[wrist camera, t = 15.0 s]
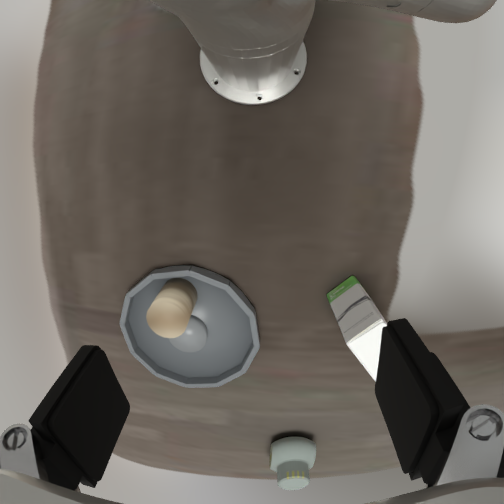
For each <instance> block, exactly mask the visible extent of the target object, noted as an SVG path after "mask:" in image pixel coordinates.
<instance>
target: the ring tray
mask: <svg viewBox="0 0 504 504" xmlns="http://www.w3.org/2000/svg"><path fill="white" fill-rule="evenodd" d="M172 278H183V279H186V280H188V281H189V282H191V283H192V284H193V285H194V287H195V288H196V291H197V301H196V304H195V306H194V309H193V312H192V314H191V317H190V319H189V322H188V325H187V327H186V330H185V331H184V333H183V334H182V335H180V336H179V337H176V338H165V337H162V336H159V335H158V334H156V333H155V332H154V331H153V330H152V329H151V328H150V327H149V325H148V323H147V318H146V315H147V311H148V309H149V308H150V306H151V304H152V303H153V301H154V300H155V298H156V297H157V295H158V293H159V292H160V290H161V289H162V287H163V286H164V284H165V283H166V282H167V281H168V280H170V279H172ZM120 327H121V330H122V332H123V335H124V338H125V340H126V343H127V345H128V348H129V350H130V353H131V354H132V355H133V356H134V357H135V358H136V359H137V360H138V361H139V362H140V363H141V364H143V365H144V366H145V367H146V368H147V369H148V370H149V371H150V372H151V373H152V374H153V375H155V376H157V377H159V378H162V379H164V380H167V381H170V382H172V383H175V384H177V385H180V386H183V387H186V388H197V387H218V386H221V385H223V384H225V383H227V382H229V381H231V380H233V379H235V378H237V377H239V376H241V375H242V374H244V373H245V372H246V371H247V369H248V368H249V366H250V364H251V362H252V360H253V359H254V357H255V355H256V353H257V351H258V350H259V348H260V338H259V331H258V322H257V318H256V311H255V308H254V307H253V306H252V305H251V303H250V302H249V300H248V299H247V297H246V296H245V295H244V293H243V292H242V291H241V290H240V289H239V288H238V287H237V286H236V285H234V284H233V283H232V282H231V281H230V280H228V279H226V278H224V277H223V276H221V275H219V274H217V273H215V272H213V271H210V270H207V269H204V268H200V267H195V266H192V265H190V266H187V265H178V266H169V267H164V268H161V269H155V270H153V271H152V272H151V273H149V274H148V275H147V276H146V277H144V278H143V279H142V280H141V281H140V282H139V283H137V284H136V285H135V286H134V287H133V288H131V289H130V290H129V292H128V293H127V294H126V296H125V300H124V305H123V309H122V314H121V319H120Z"/></svg>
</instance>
